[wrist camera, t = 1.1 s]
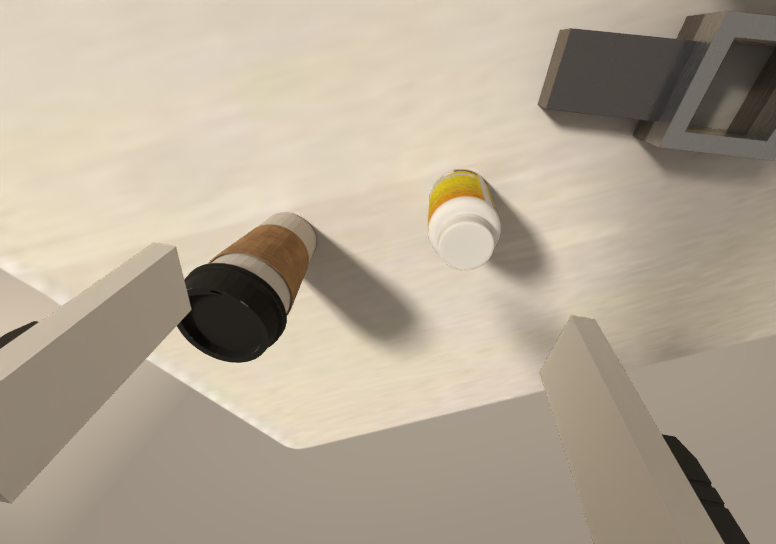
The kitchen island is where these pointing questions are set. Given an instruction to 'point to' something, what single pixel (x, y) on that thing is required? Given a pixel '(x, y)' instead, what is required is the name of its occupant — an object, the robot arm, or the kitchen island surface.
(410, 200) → the kitchen island surface
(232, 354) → the coffee cup
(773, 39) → the grey plate with loop
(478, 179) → the supplement bottle
